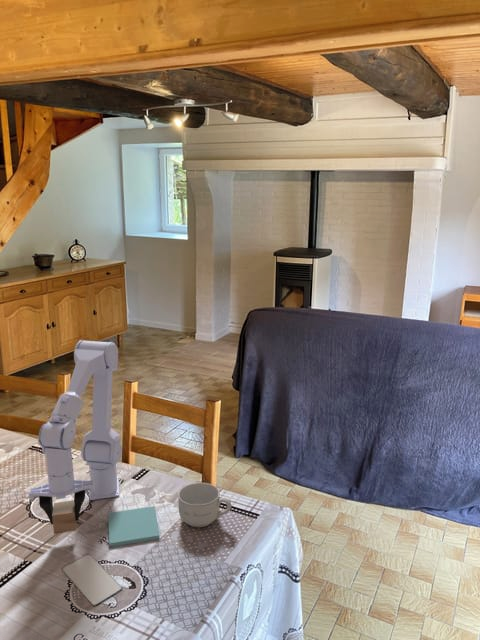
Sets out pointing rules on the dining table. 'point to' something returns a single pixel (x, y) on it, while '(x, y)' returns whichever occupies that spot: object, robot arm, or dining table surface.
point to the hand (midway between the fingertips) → (65, 519)
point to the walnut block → (64, 517)
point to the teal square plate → (133, 526)
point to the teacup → (201, 504)
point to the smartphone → (92, 580)
